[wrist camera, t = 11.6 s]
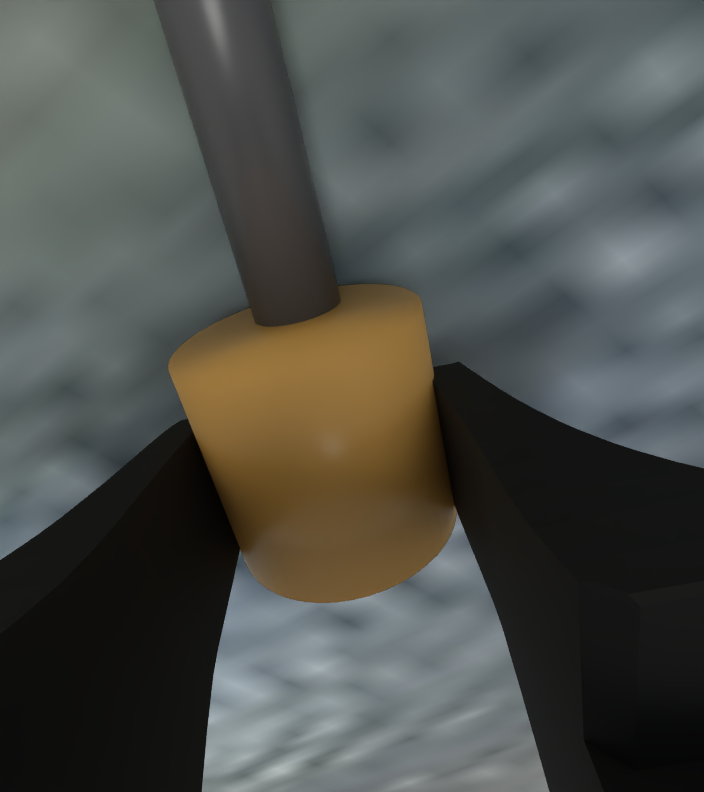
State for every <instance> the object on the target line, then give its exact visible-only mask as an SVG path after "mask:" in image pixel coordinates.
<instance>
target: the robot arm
mask: <svg viewBox="0 0 704 792" xmlns="http://www.w3.org/2000/svg"><path fill="white" fill-rule="evenodd" d="M433 370H434V379H433V386H434V392H435V398H436V403H437V409H438V415H439V421H440V426H441V432H442V438H443V443H444V449H445V455H446V460H447V466H448V472H449V477H450V483H451V489H452V494H453V500H454V505H455V508H456V510H457V513H458V515H459V518H460V520H461V523H462V525H463V528H464V530H465V533H466V535H467V538H468V540H469V543H470V545H471V548H472V550H473V553H474V555H475V558H476V560H477V562H478V565H479V567H480V570H481V572H482V575H483V577H484V580H485V582H486V585H487V587H488V590H489V592H490V594H491V597H492V599H493V602H494V605H495V608H496V610H497V613H498V616H499V619H500V622H501V625H502V628H503V631H504V635H505V638H506V641H507V645H508V648H509V652H510V655H511V658H512V662H513V665H514V669H515V672H516V675H517V679H518V682H519V686H520V689H521V693H522V696H523V700H524V703H525V707H526V710H527V714H528V717H529V721H530V724H531V727H532V731H533V734H534V738H535V741H536V745H537V749H538V752H539V756H540V759H541V763H542V766H543V770H544V773H545V777H546V781H547V784H548V788H549V791H550V792H704V468H699V467H695V466H691V465H687V464H683V463H678V462H675V461H671V460H668V459H664V458H661V457H657V456H654V455H650V454H647V453H643V452H640V451H636V450H633V449H630V448H627V447H624V446H621V445H618V444H614V443H612V442H609V441H606V440H604V439H601V438H598V437H596V436H593V435H591V434H588V433H585V432H583V431H580V430H578V429H575V428H573V427H571V426H568V425H566V424H564V423H562V422H559V421H557V420H555V419H553V418H551V417H549V416H547V415H545V414H543V413H541V412H539V411H537V410H535V409H533V408H531V407H529V406H528V405H526V404H524V403H522V402H520V401H519V400H517V399H515V398H513V397H512V396H510V395H508V394H507V393H505V392H503V391H502V390H500V389H499V388H497V387H495V386H494V385H492V384H491V383H489V382H488V381H486V380H485V379H483V378H482V377H480V376H479V375H477V374H476V373H475V372H473V371H472V370H470V369H469V368H467V367H466V366H464V365H463V364H461V363H460V362H456V363H452V364H447V365H442V366H438V367H433ZM239 551H240V547H239V545H238V542H237V540H236V537H235V535H234V532H233V530H232V527H231V525H230V522H229V520H228V517H227V515H226V512H225V510H224V507H223V505H222V502H221V500H220V497H219V495H218V492H217V490H216V487H215V485H214V482H213V480H212V477H211V475H210V472H209V470H208V468H207V465H206V463H205V460H204V458H203V455H202V453H201V450H200V448H199V445H198V443H197V440H196V438H195V435H194V433H193V430H192V428H191V425H190V423H189V420H188V419H187V420H182V421H179V422H178V423H176V424H175V425H173V426H172V427H170V428H169V429H168V430H166V431H165V432H164V433H162V434H161V435H160V436H159V437H158V438H156V439H155V440H154V441H153V442H152V443H150V444H149V445H148V446H147V447H146V448H145V449H143V450H142V451H141V452H140V453H139V454H138V455H136V456H135V457H134V458H133V459H132V460H131V461H129V462H128V463H127V464H126V465H125V466H124V467H123V468H121V469H120V470H119V471H118V472H117V473H116V474H114V475H113V476H112V477H111V478H110V479H109V480H107V481H106V482H105V483H104V484H102V485H101V486H100V487H99V488H97V489H96V490H95V491H94V492H92V493H91V494H90V495H89V496H88V497H86V498H85V499H84V500H83V501H81V502H80V503H79V504H78V505H76V506H75V507H74V508H73V509H71V510H70V511H69V512H68V513H66V514H65V515H64V516H63V517H61V518H60V519H59V520H57V521H56V522H55V523H53V524H52V525H51V526H49V527H48V528H46V529H45V530H44V531H42V532H41V533H39V534H38V535H37V536H35V537H34V538H32V539H31V540H29V541H28V542H27V543H25V544H24V545H22V546H21V547H19V548H18V549H16V550H15V551H13V552H12V553H10V554H9V555H7V556H6V557H4V558H3V559H1V560H0V792H202V781H203V769H204V758H205V747H206V735H207V726H208V717H209V708H210V699H211V690H212V681H213V674H214V668H215V662H216V657H217V651H218V646H219V642H220V637H221V633H222V628H223V624H224V619H225V615H226V610H227V606H228V601H229V597H230V593H231V588H232V584H233V579H234V574H235V570H236V565H237V560H238V556H239Z"/></svg>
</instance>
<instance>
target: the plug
mask: <svg viewBox="0 0 704 792" xmlns="http://www.w3.org/2000/svg"><path fill="white" fill-rule="evenodd" d="M154 2H155V6H156V9H157V12H158V15H159V18H160V21H161V25H162V28H163V31H164V34H165V37H166V41H167V44H168V47H169V50H170V53H171V57H172V60H173V63H174V66H175V69H176V72H177V76H178V79H179V82H180V85H181V88H182V92H183V95H184V98H185V101H186V104H187V108H188V111H189V114H190V117H191V120H192V123H193V127H194V130H195V133H196V136H197V139H198V143H199V146H200V149H201V152H202V155H203V159H204V162H205V165H206V168H207V171H208V174H209V178H210V181H211V184H212V187H213V190H214V194H215V197H216V200H217V203H218V206H219V210H220V213H221V216H222V219H223V222H224V225H225V229H226V232H227V235H228V238H229V241H230V245H231V248H232V251H233V254H234V257H235V261H236V264H237V267H238V270H239V273H240V276H241V280H242V283H243V286H244V289H245V292H246V296H247V299H248V302H249V305H250V308H248V309H246V310H243V311H241V312H238V313H236V314H233V315H231V316H229V317H227V318H224V319H222V320H220V321H218V322H216V323H214V324H212V325H210V326H209V327H207V328H205V329H203V330H201V331H200V332H198V333H197V334H195V335H194V336H192V337H191V338H190V339H188V340H187V341H186V342H184V343H183V344H182V345H181V346H180V347H179V348H178V349H177V350H176V351H175V352H174V354H173V355H172V357H171V359H170V360H169V365H168V369H169V373H170V375H171V378H172V380H173V383H174V385H175V388H176V390H177V393H178V395H179V398H180V400H181V403H182V405H183V408H184V410H185V413H186V415H187V418H188V420H189V423H190V425H191V428H192V430H193V433H194V435H195V438H196V440H197V443H198V445H199V448H200V450H201V453H202V455H203V458H204V460H205V463H206V465H207V468H208V470H209V472H210V475H211V477H212V480H213V482H214V485H215V487H216V490H217V492H218V495H219V497H220V500H221V502H222V505H223V507H224V510H225V512H226V515H227V517H228V520H229V522H230V525H231V527H232V530H233V532H234V535H235V537H236V540H237V542H238V545H239V547H240V550H241V552H242V555H243V557H244V560H245V562H246V565H247V567H248V569H249V570H250V572H251V574H252V575H253V576H254V578H255V579H256V580H257V581H258V582H259V583H260V584H262V585H263V586H264V587H265V588H267V589H268V590H270V591H272V592H274V593H276V594H278V595H280V596H283V597H286V598H289V599H293V600H298V601H303V602H314V603H331V602H342V601H349V600H355V599H359V598H363V597H367V596H370V595H373V594H376V593H379V592H382V591H384V590H387V589H389V588H391V587H393V586H395V585H397V584H400V583H401V582H403V581H405V580H406V579H408V578H410V577H411V576H413V575H415V574H416V573H417V572H419V571H420V570H421V569H422V568H424V567H425V566H426V565H427V564H428V563H430V562H431V561H432V560H433V559H434V558H435V557H436V556H437V555H438V553H439V552H440V551H441V550H442V548H443V547H444V546H445V544H446V542H447V541H448V539H449V537H450V536H451V533H452V531H453V528H454V525H455V521H456V516H457V510H456V508H455V505H454V500H453V494H452V489H451V483H450V477H449V472H448V466H447V460H446V455H445V449H444V443H443V438H442V432H441V426H440V421H439V415H438V409H437V403H436V398H435V392H434V386H433V379H434V370H433V364H432V359H431V353H430V347H429V341H428V335H427V329H426V324H425V318H424V312H423V306H422V302H421V299H420V297H419V296H418V295H417V294H416V293H414V292H413V291H411V290H408V289H406V288H403V287H398V286H393V285H385V284H355V285H344V286H338V285H337V281H336V277H335V272H334V268H333V264H332V260H331V256H330V251H329V247H328V243H327V239H326V234H325V230H324V226H323V222H322V218H321V213H320V209H319V205H318V201H317V197H316V192H315V188H314V184H313V180H312V175H311V171H310V167H309V163H308V159H307V154H306V150H305V146H304V142H303V138H302V133H301V129H300V125H299V121H298V117H297V112H296V108H295V104H294V100H293V95H292V91H291V87H290V83H289V79H288V74H287V70H286V66H285V62H284V58H283V53H282V49H281V45H280V41H279V37H278V32H277V28H276V24H275V20H274V15H273V11H272V7H271V3H270V0H154Z"/></svg>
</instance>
